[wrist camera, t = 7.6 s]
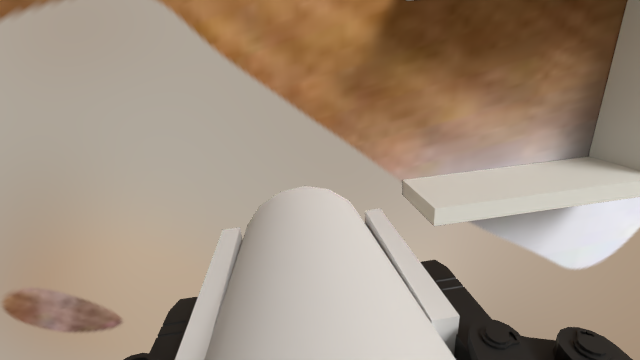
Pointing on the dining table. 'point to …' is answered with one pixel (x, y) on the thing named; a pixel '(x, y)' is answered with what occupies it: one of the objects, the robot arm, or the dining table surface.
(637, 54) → the u-shaped frame
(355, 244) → the white cup
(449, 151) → the dining table surface
